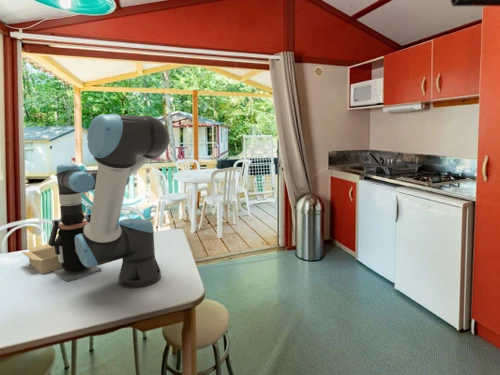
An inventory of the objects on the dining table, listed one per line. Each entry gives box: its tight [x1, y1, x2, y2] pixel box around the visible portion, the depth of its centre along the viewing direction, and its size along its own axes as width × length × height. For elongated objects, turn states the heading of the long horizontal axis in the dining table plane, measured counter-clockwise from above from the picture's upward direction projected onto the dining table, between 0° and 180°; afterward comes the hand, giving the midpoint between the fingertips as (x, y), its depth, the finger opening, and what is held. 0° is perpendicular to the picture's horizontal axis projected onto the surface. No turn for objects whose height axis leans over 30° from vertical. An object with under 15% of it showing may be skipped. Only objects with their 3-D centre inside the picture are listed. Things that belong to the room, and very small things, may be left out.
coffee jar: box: [57, 220, 88, 272], centre depth 128 cm, size 11×11×18 cm
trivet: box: [53, 266, 102, 283], centre depth 129 cm, size 13×13×1 cm
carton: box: [21, 243, 63, 274], centre depth 141 cm, size 20×24×6 cm
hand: (76, 257), depth 129 cm, fingers closed on coffee jar, 11 cm apart
